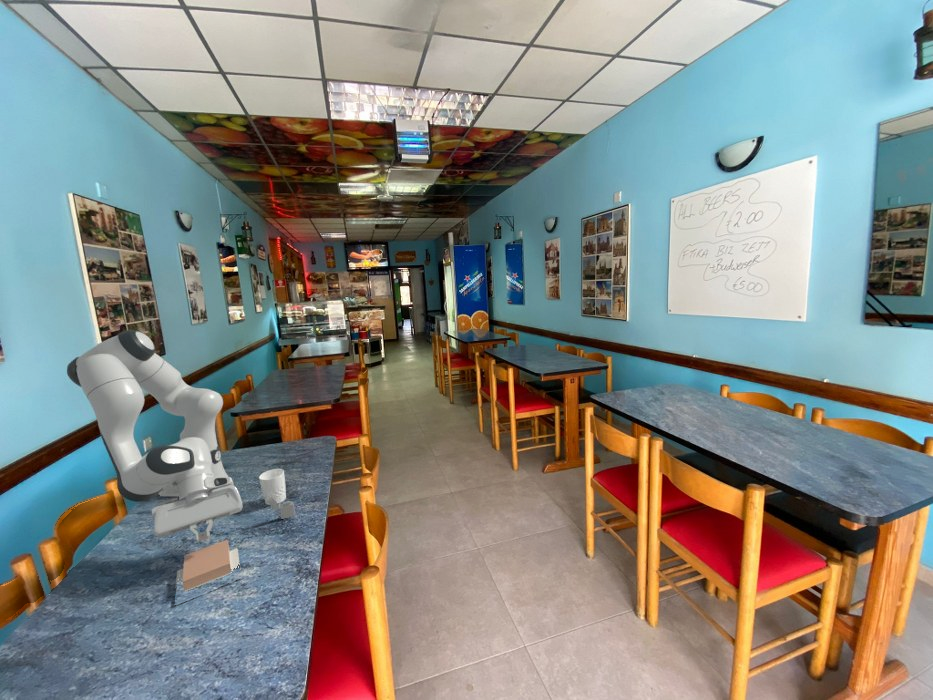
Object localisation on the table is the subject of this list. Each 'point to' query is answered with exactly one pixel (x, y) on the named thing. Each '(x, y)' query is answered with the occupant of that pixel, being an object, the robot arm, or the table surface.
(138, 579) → the table surface
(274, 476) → the white cup
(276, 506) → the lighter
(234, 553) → the mat
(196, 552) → the tile
